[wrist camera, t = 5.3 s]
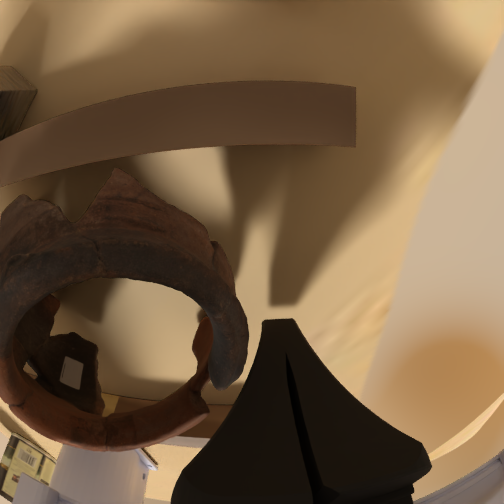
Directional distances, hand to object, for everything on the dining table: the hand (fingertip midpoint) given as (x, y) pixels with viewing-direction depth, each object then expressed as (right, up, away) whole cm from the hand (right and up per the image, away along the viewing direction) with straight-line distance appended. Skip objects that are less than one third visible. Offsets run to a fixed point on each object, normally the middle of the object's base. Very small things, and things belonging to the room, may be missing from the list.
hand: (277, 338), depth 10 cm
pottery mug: (-7, +2, +1) cm, 7 cm away
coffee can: (-40, -32, +17) cm, 54 cm away
